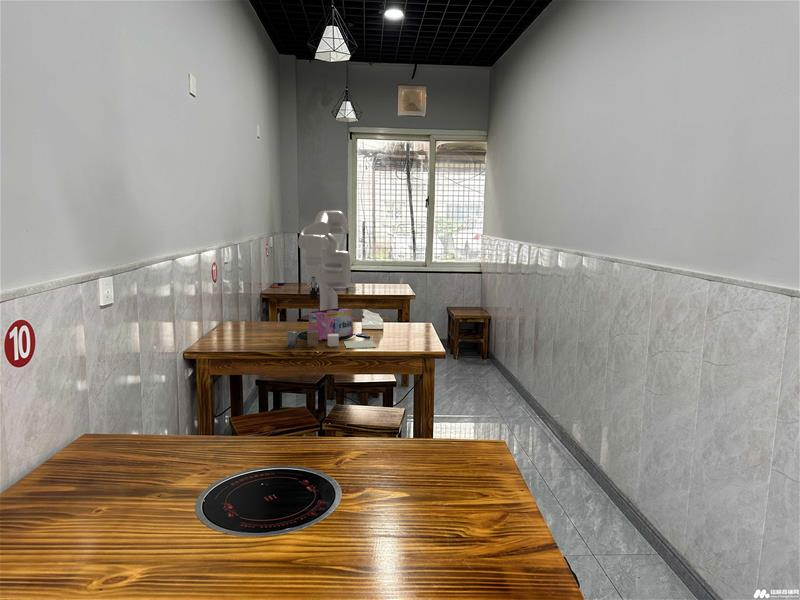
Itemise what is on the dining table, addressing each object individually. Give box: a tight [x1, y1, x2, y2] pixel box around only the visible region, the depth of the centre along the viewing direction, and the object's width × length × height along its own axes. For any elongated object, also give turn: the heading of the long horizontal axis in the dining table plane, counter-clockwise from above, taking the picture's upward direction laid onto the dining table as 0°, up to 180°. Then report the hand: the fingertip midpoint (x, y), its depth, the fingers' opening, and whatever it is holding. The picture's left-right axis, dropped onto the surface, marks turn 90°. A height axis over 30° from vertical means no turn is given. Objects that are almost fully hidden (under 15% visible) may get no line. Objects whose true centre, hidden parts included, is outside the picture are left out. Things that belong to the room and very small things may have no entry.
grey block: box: [326, 334, 340, 347], centre depth 265 cm, size 5×5×5 cm
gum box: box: [308, 307, 354, 341], centre depth 284 cm, size 24×8×14 cm, turn 135°
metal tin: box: [286, 330, 299, 348], centre depth 261 cm, size 5×5×7 cm
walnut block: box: [306, 329, 319, 348], centre depth 263 cm, size 5×5×7 cm
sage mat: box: [343, 340, 377, 349], centre depth 266 cm, size 14×14×1 cm
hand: (313, 298), depth 262 cm, fingers open, 9 cm apart
